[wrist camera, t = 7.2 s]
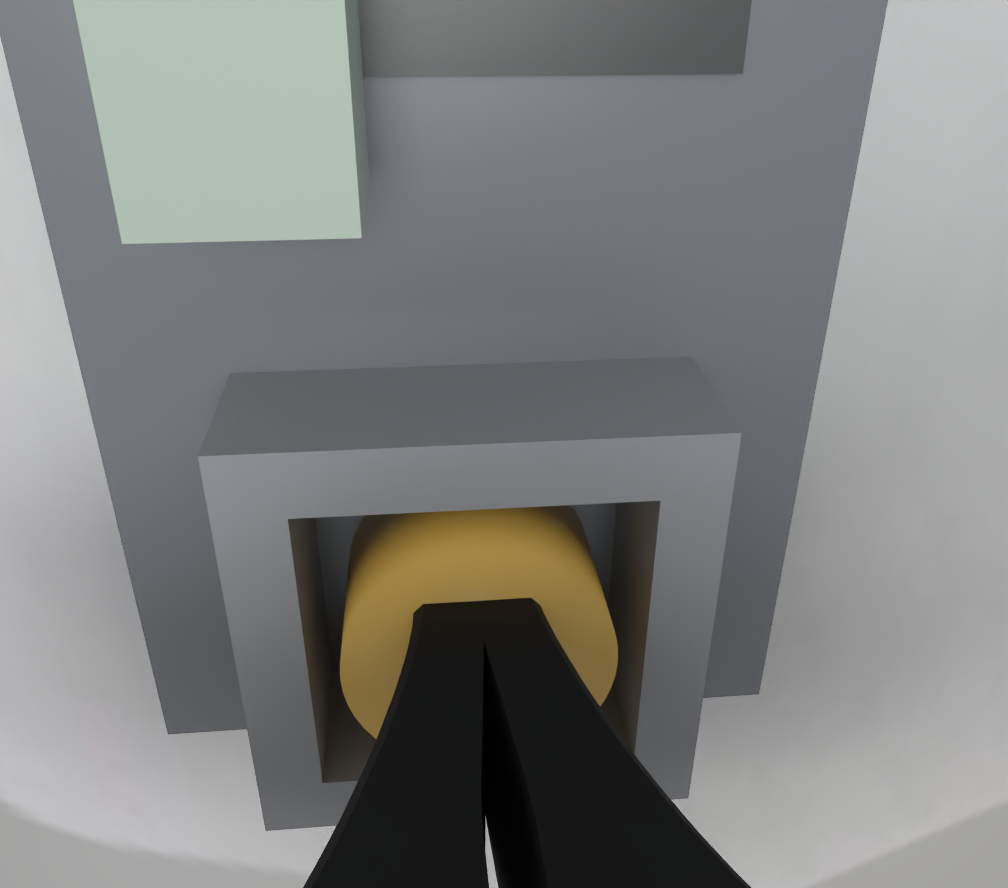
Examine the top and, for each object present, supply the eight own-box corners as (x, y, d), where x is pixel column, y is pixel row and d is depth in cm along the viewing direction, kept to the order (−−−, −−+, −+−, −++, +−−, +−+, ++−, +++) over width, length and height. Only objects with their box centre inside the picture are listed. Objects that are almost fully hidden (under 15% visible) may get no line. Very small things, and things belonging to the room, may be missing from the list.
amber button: (339, 468, 11) (327, 563, 10) (593, 456, 12) (627, 548, 10) (357, 663, 13) (350, 777, 11) (582, 650, 13) (609, 758, 12)
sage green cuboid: (124, -133, 8) (43, -151, 6) (349, -130, 8) (332, -149, 7) (178, 181, 10) (121, 244, 8) (370, 177, 10) (360, 238, 8)
